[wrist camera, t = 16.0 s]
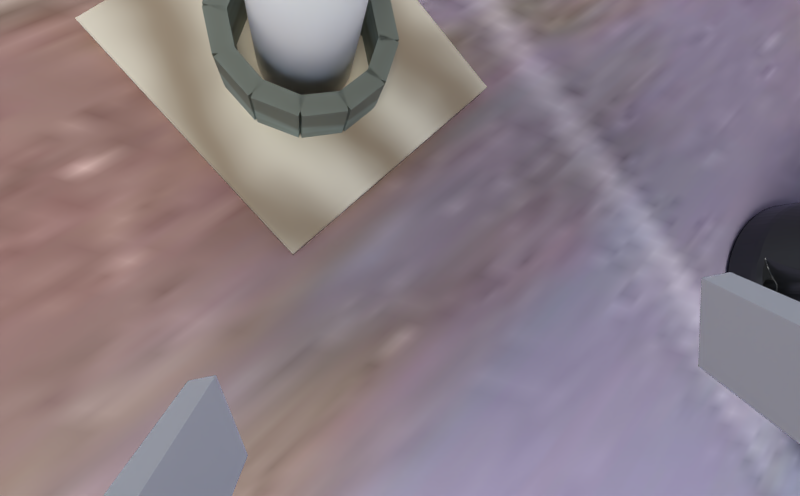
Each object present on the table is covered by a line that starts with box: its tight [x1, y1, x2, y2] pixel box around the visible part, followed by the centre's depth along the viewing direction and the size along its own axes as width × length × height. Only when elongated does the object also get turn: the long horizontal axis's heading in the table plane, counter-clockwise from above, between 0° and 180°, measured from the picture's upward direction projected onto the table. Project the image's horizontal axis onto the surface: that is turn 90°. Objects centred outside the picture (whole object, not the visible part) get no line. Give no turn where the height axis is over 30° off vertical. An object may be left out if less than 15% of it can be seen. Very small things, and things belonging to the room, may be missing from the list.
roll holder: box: [76, 0, 487, 255], centre depth 25 cm, size 18×18×4 cm
